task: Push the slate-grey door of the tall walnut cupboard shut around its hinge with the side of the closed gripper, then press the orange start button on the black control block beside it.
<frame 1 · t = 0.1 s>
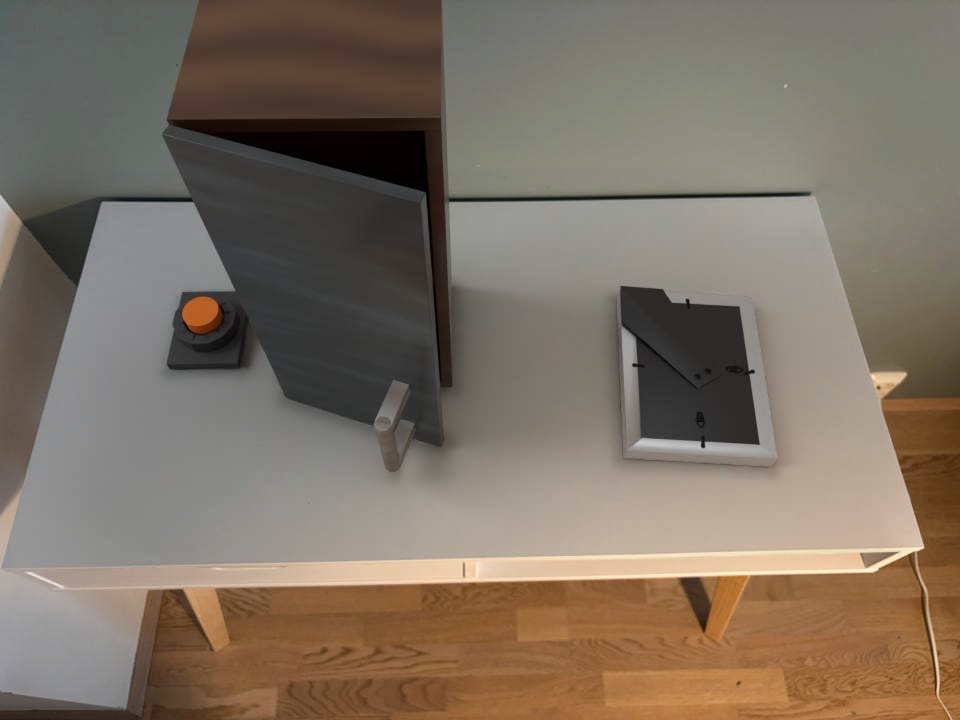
cupboard door: (323, 347, 63), point 19 cm above the table, hinge at 20.0°
control block: (212, 331, 86), on the table
cupboard: (373, 334, 86), on the table
start button: (202, 315, 83), point 3 cm above the table, slide at 0.1 cm
picture frame: (688, 378, 84), on the table
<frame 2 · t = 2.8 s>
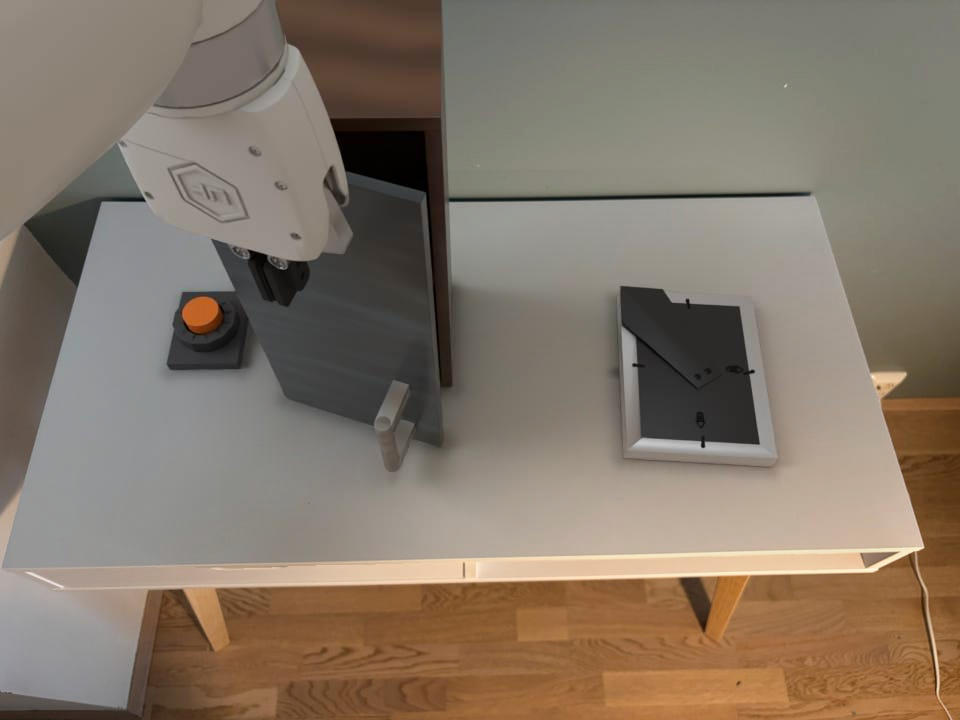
hand: (286, 285, 46), 35 cm above the table, tool pointing down, fingers closed
nothing on the table moved.
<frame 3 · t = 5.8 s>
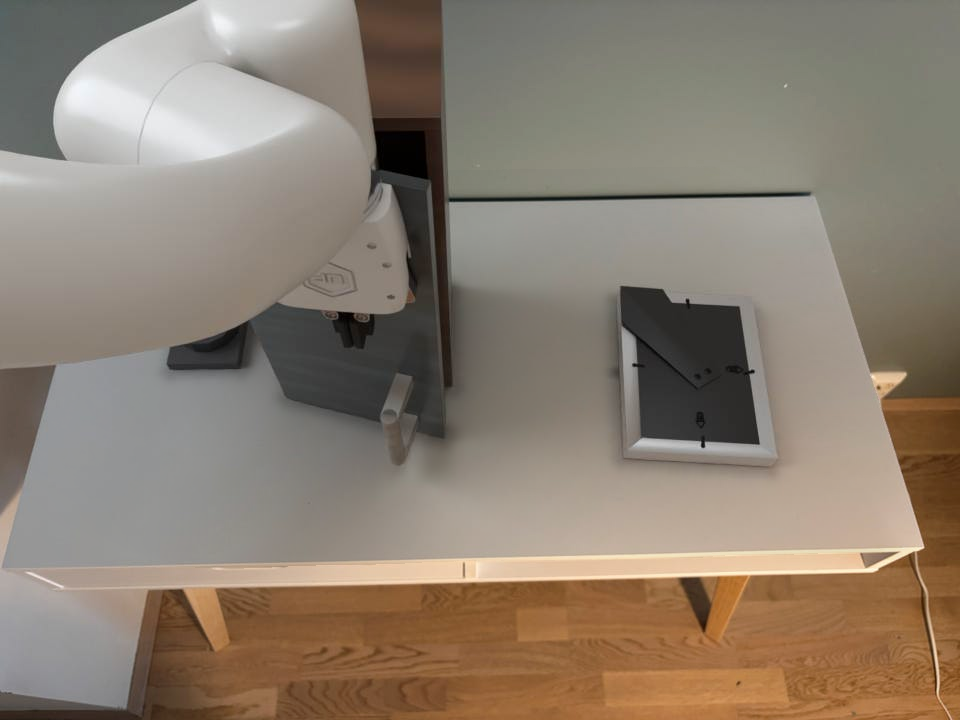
hand: (357, 333, 61), 21 cm above the table, tool pointing down, fingers closed
cupboard door: (327, 343, 63), point 19 cm above the table, hinge at 16.7°, touching gripper
everything else where it was.
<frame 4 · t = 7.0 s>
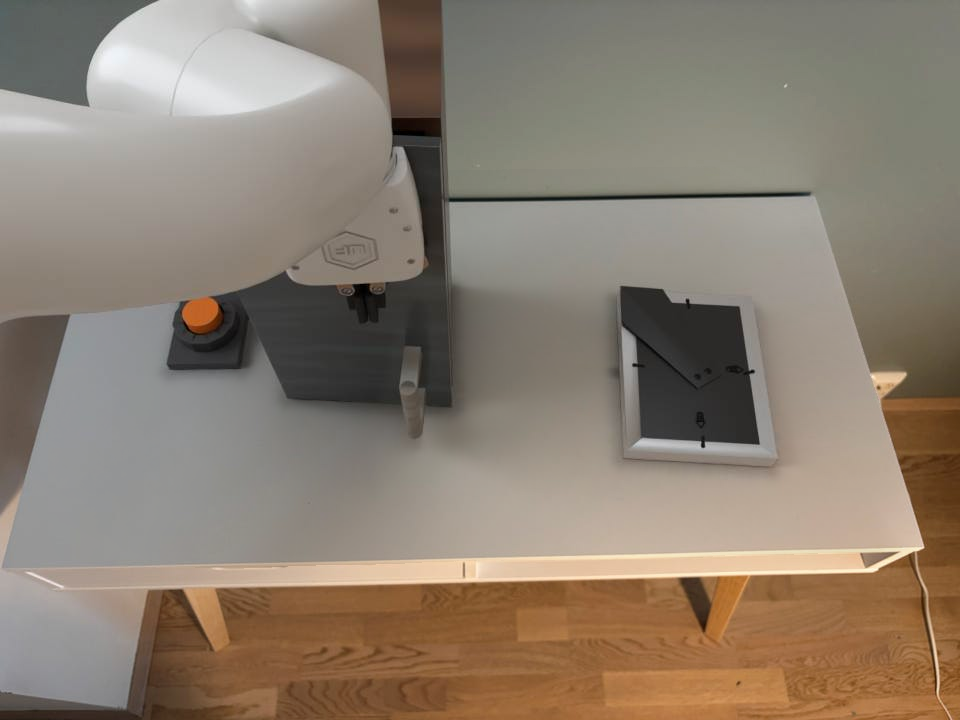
hand: (369, 308, 62), 21 cm above the table, tool pointing down, fingers closed
cupboard door: (340, 325, 64), point 19 cm above the table, hinge at 4.5°, touching gripper
everything else where it was.
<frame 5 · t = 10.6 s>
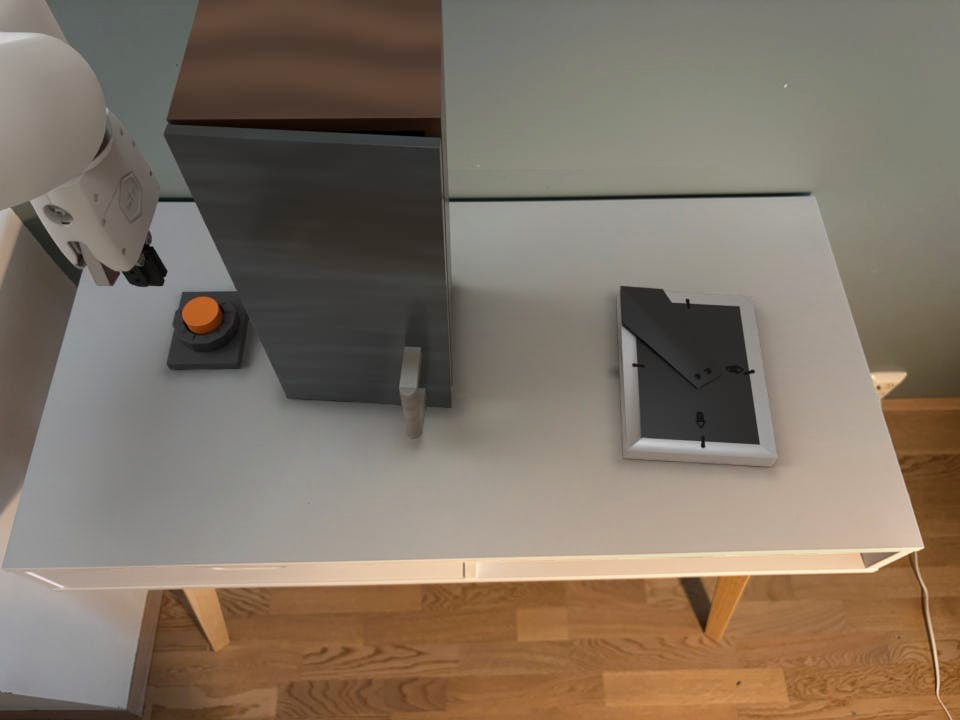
hand: (149, 278, 69), 17 cm above the table, tool pointing down, fingers closed
cupboard door: (339, 325, 64), point 19 cm above the table, hinge at 4.7°
everything else where it was.
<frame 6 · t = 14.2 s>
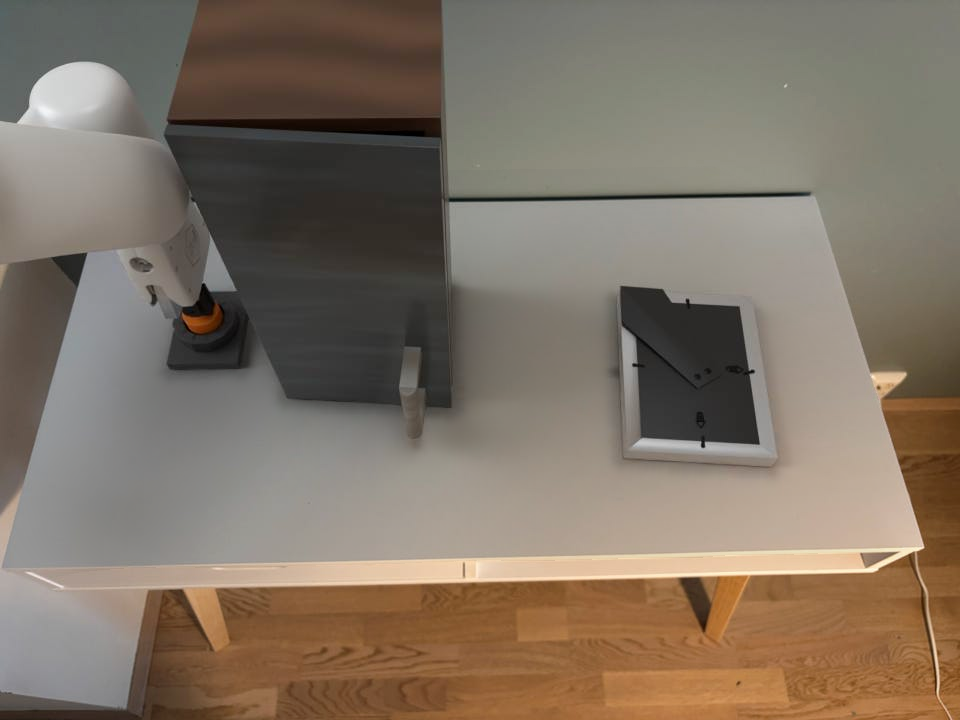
hand: (200, 309, 82), 4 cm above the table, tool pointing down, fingers closed
start button: (202, 315, 83), point 3 cm above the table, slide at 0.1 cm, touching gripper
everything else where it was.
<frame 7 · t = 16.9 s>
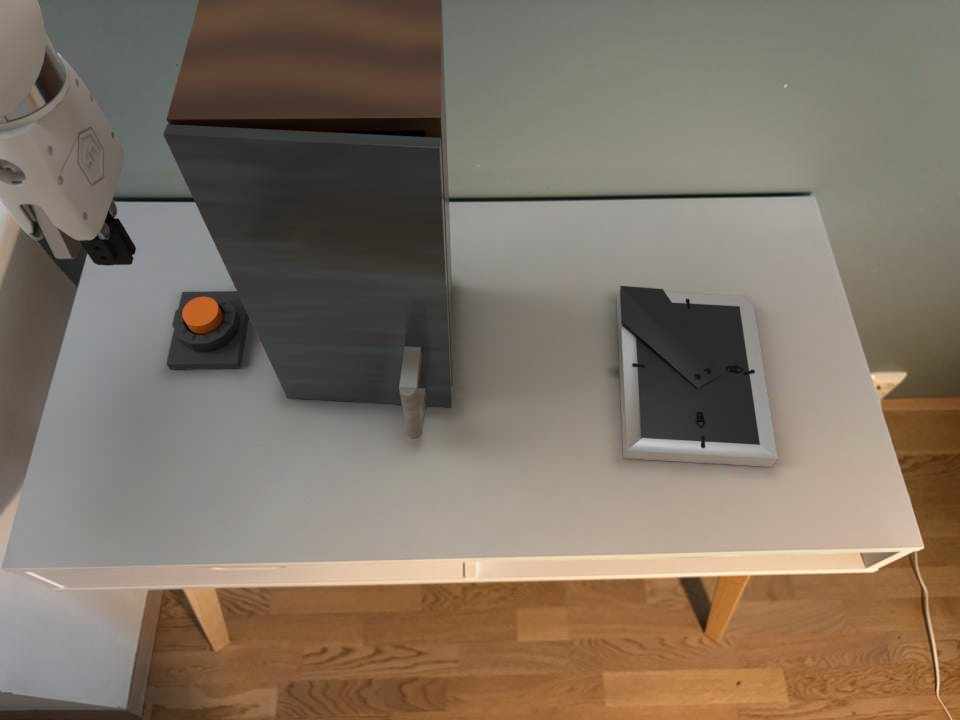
hand: (116, 257, 62), 23 cm above the table, tool pointing down, fingers closed
start button: (202, 315, 83), point 3 cm above the table, slide at 0.1 cm
everything else where it was.
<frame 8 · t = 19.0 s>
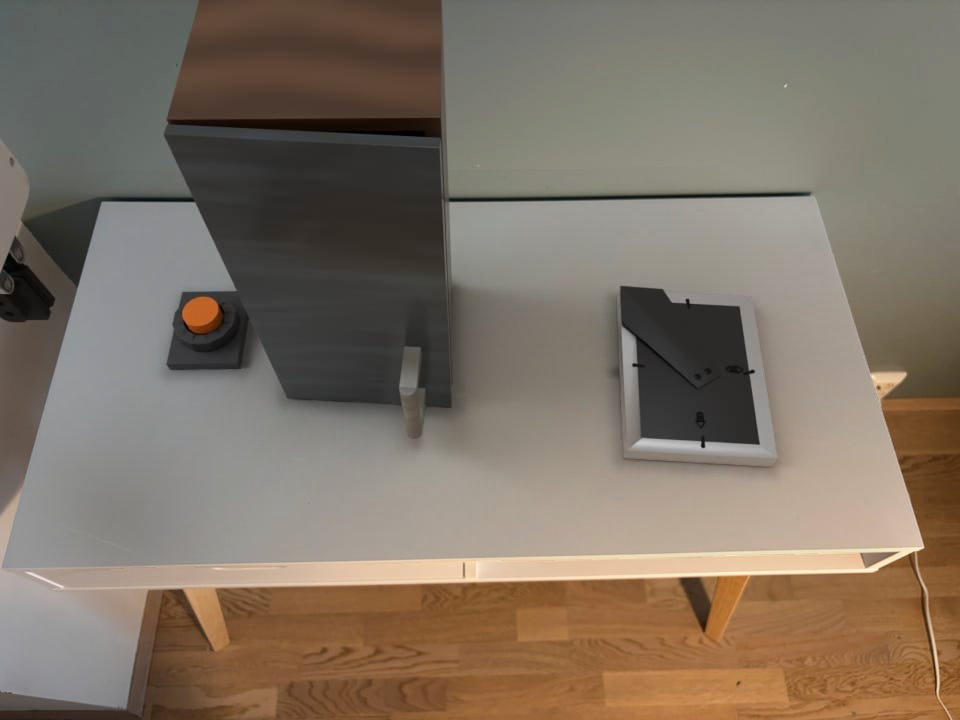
hand: (30, 310, 50), 31 cm above the table, tool pointing down, fingers closed
nothing on the table moved.
at the end: cupboard door at +5° (first picture: +20°); start button pushed in 1.1 cm at the most during the clip, back to where it started at the end; start button slide at 0.1 cm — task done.
